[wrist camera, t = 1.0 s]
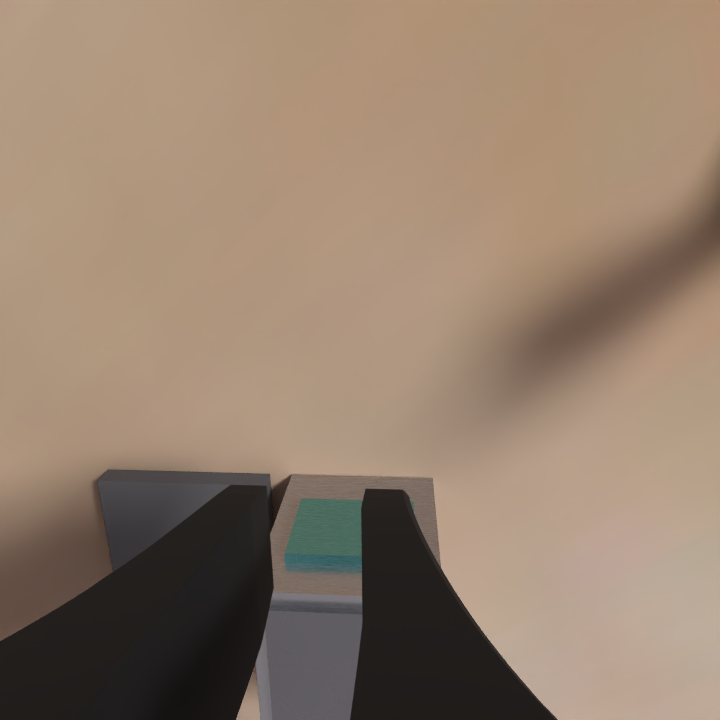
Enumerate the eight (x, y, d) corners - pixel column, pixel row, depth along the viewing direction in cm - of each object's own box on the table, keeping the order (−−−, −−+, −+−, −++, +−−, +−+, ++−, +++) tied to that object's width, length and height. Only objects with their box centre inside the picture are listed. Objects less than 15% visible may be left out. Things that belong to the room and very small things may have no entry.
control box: (427, 616, 22) (437, 778, 16) (299, 610, 22) (262, 767, 17) (432, 470, 20) (445, 595, 14) (291, 467, 20) (246, 587, 15)
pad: (279, 609, 23) (274, 625, 22) (130, 603, 23) (121, 618, 22) (269, 474, 21) (264, 485, 20) (108, 469, 21) (97, 481, 20)
